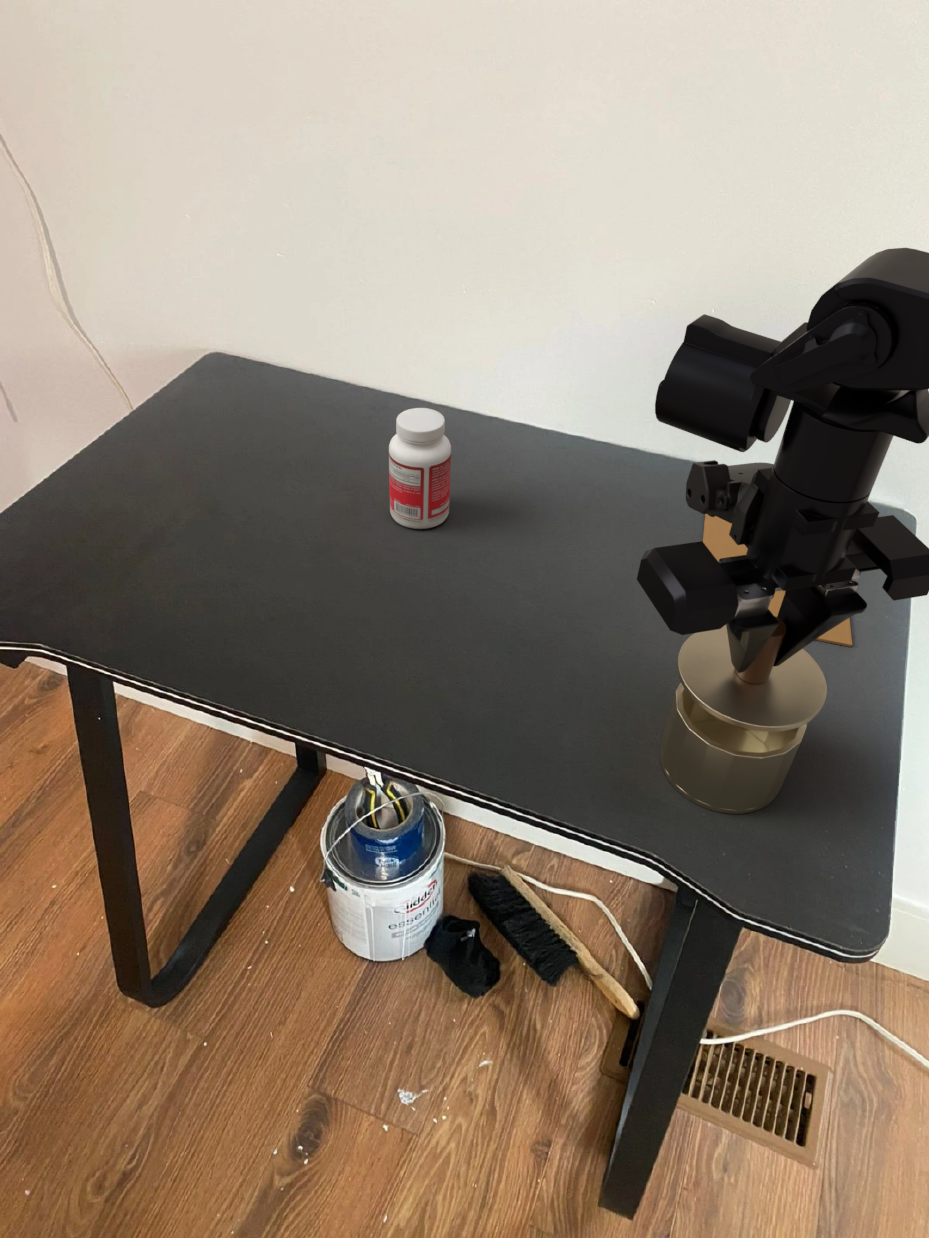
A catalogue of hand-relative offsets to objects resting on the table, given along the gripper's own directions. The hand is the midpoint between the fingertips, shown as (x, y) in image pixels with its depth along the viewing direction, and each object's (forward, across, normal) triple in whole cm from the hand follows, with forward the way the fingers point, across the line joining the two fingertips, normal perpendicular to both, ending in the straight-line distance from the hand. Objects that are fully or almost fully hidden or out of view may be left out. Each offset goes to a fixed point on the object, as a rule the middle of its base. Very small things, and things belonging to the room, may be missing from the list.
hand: (754, 665), depth 65 cm
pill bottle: (+11, +15, -38) cm, 42 cm away
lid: (+1, 0, 0) cm, 1 cm away
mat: (+11, -18, -23) cm, 31 cm away
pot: (+11, 0, 0) cm, 11 cm away
